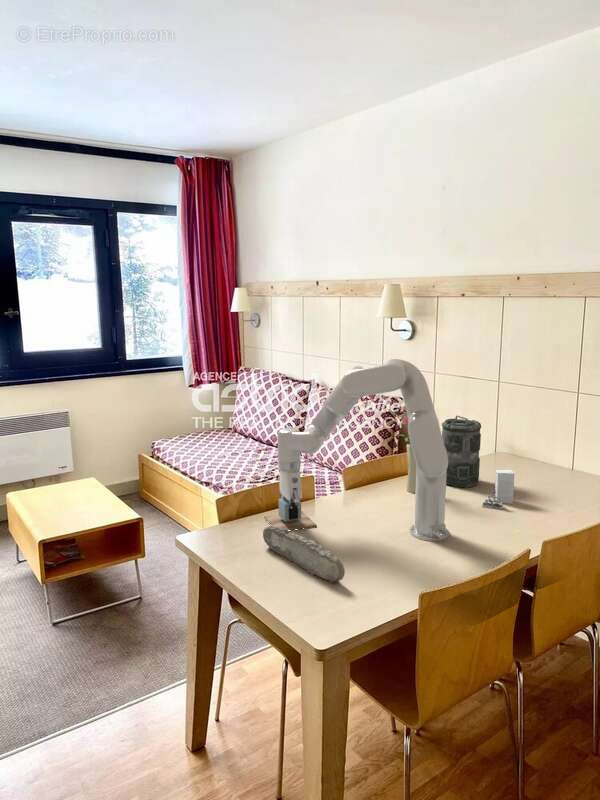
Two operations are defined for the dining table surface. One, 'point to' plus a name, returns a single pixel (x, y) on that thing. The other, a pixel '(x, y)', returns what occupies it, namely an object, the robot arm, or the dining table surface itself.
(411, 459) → the flower vase
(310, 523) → the post block
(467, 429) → the canister
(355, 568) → the dining table surface
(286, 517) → the dusty teal cube
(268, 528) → the elongated rock
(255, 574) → the dining table surface
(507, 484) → the skincare box
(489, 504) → the silver ball pyramid
